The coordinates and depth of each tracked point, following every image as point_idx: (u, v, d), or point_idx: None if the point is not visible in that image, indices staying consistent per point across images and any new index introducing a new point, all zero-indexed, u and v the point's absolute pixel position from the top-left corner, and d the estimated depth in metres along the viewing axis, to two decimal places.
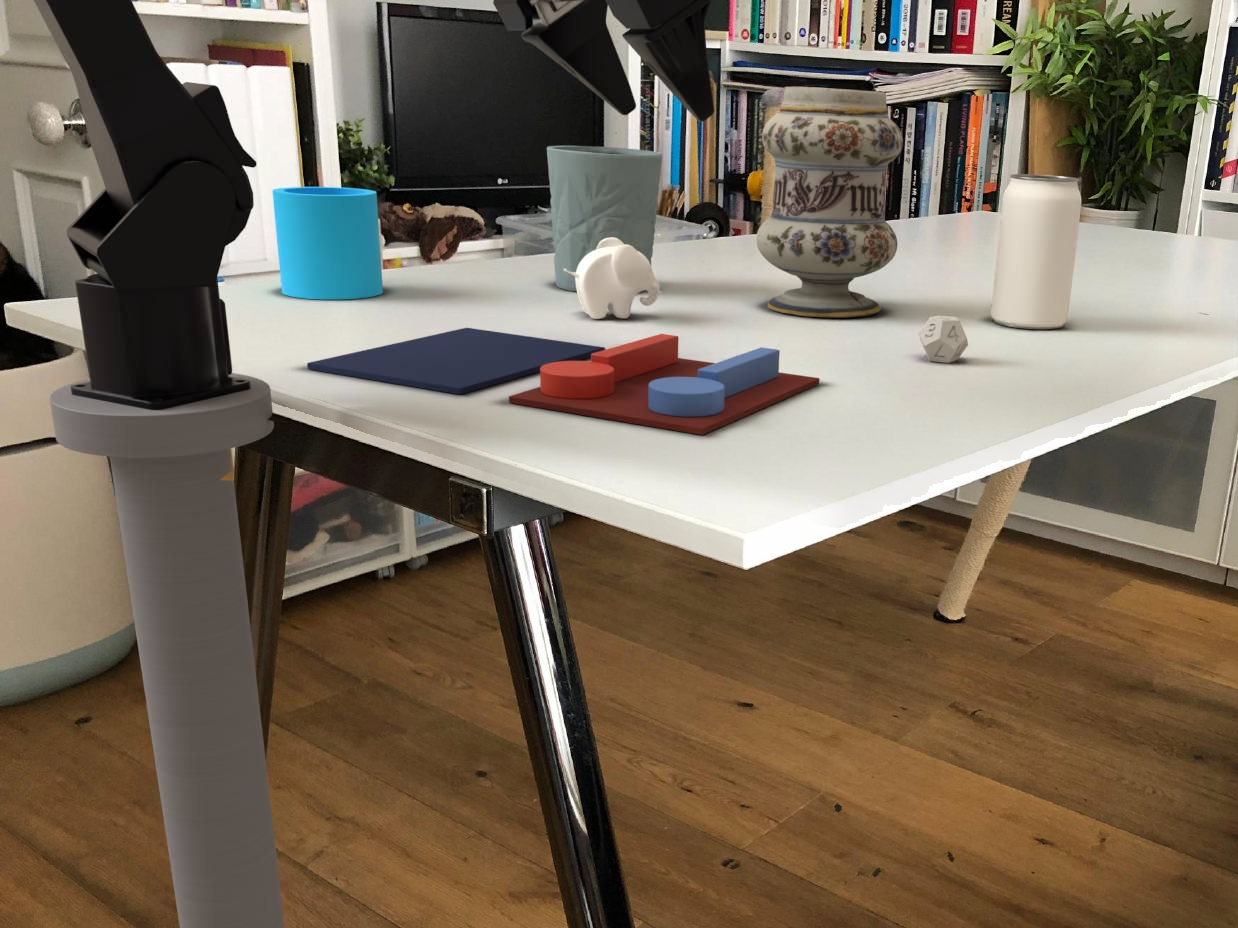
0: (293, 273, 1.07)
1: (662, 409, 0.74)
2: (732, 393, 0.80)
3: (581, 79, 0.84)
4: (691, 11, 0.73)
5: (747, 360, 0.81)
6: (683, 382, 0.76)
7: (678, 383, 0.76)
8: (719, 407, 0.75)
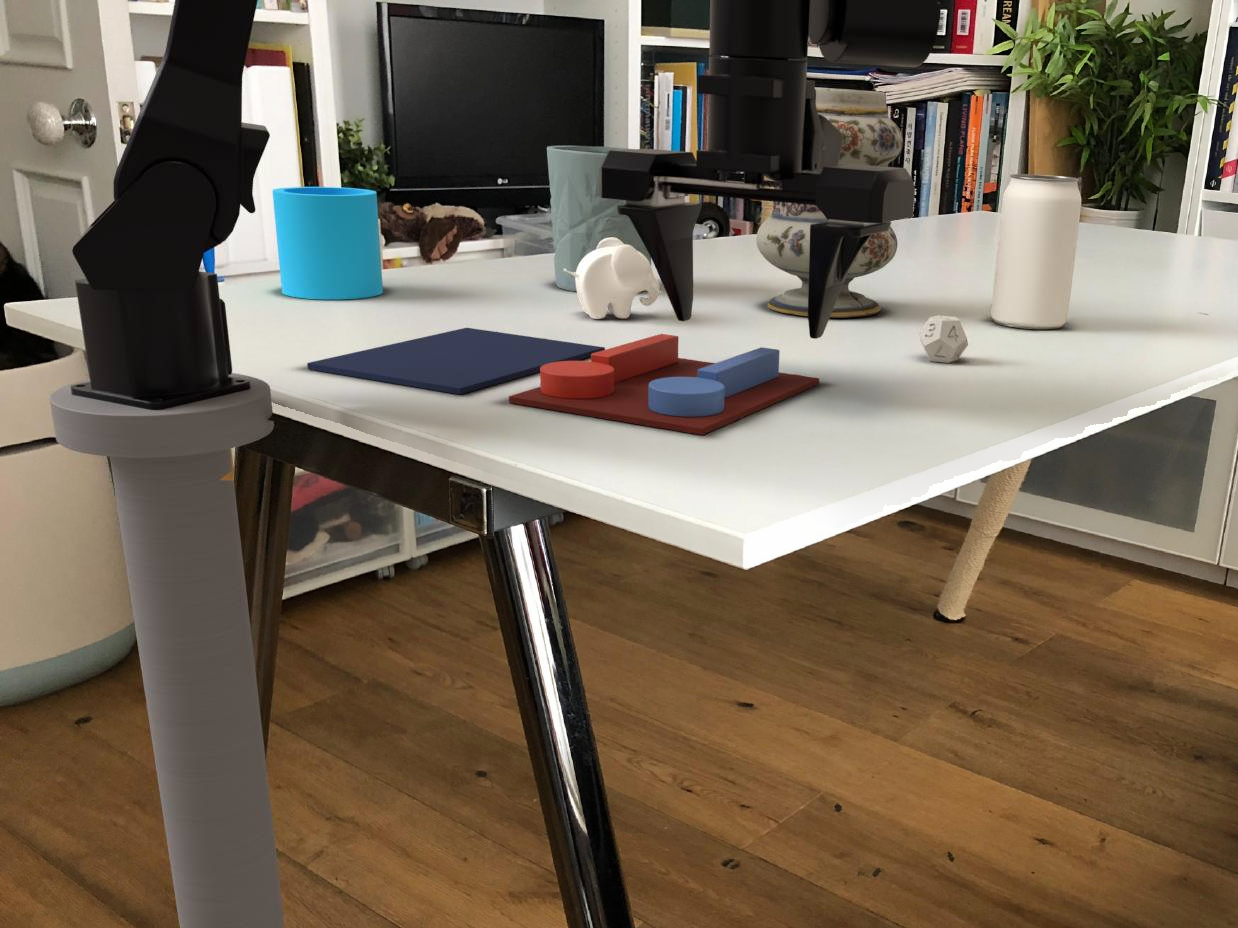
0: (293, 273, 1.07)
1: (662, 409, 0.74)
2: (732, 393, 0.80)
3: (662, 269, 0.81)
4: (876, 231, 0.76)
5: (747, 360, 0.81)
6: (683, 382, 0.76)
7: (678, 383, 0.76)
8: (719, 407, 0.75)
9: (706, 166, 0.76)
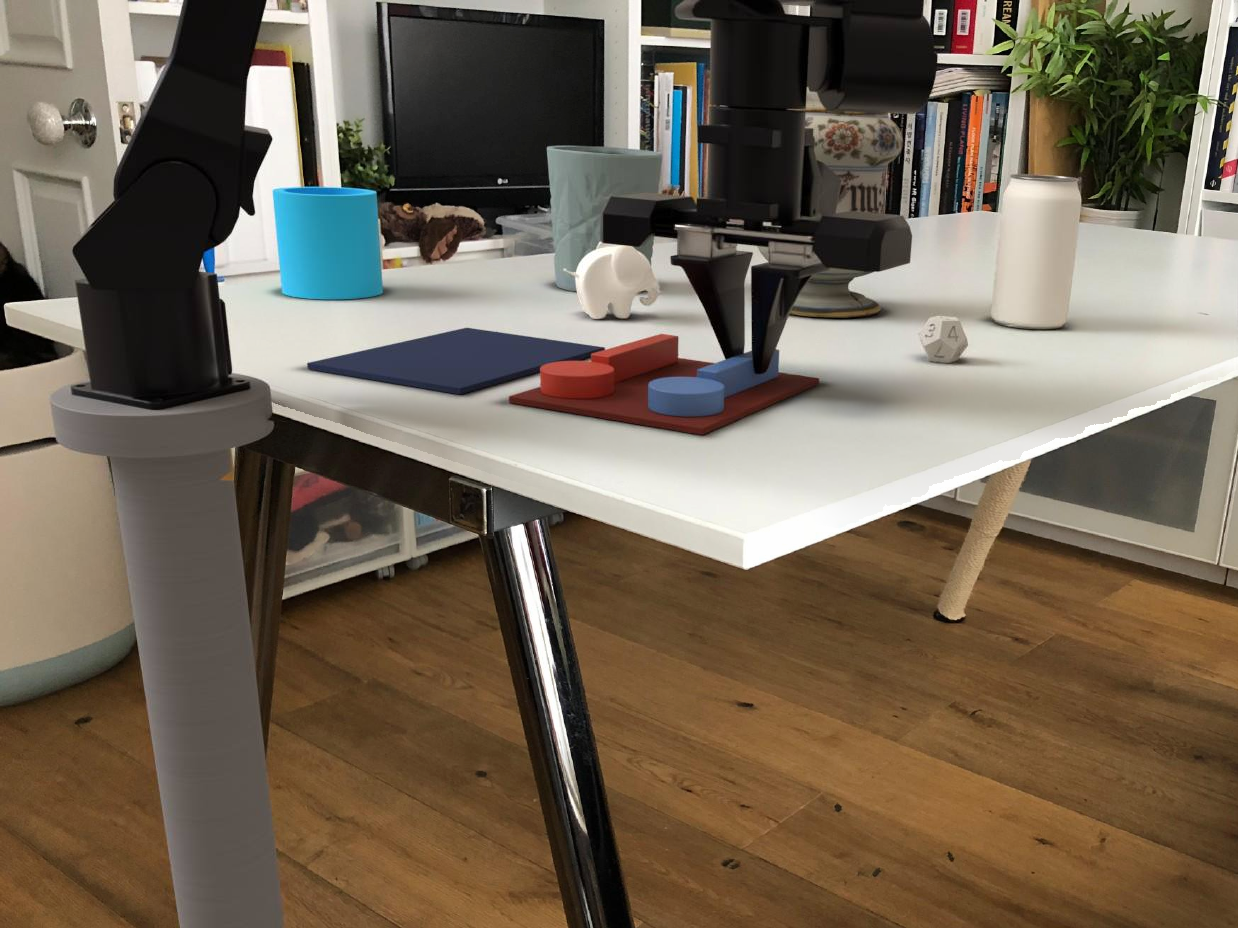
0: (293, 273, 1.07)
1: (662, 409, 0.74)
2: (732, 393, 0.80)
3: (715, 320, 0.81)
4: (816, 271, 0.79)
5: (747, 360, 0.81)
6: (683, 382, 0.76)
7: (678, 383, 0.76)
8: (719, 407, 0.75)
9: (706, 214, 0.77)
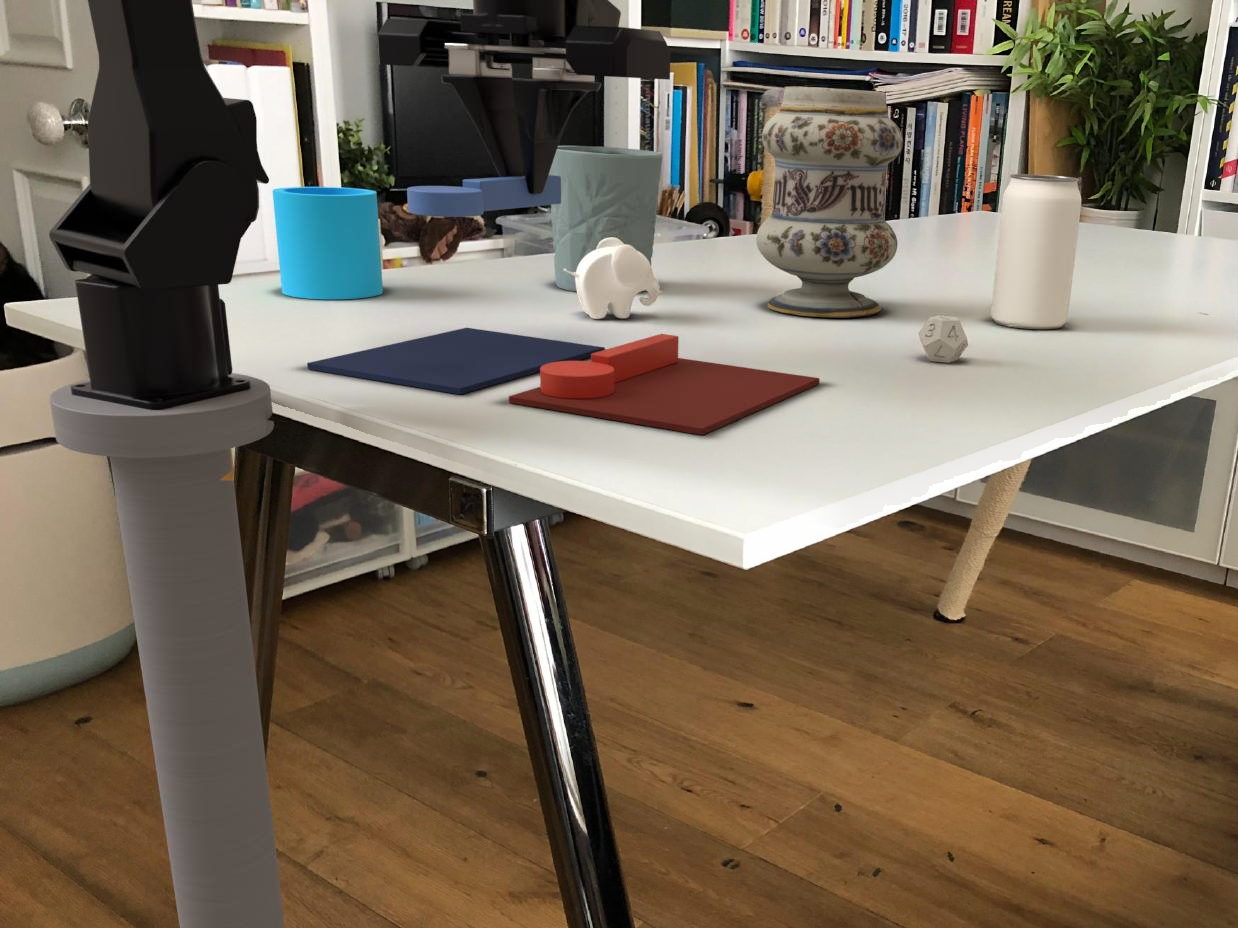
0: (293, 273, 1.07)
1: (417, 209, 0.77)
2: (501, 207, 0.82)
3: (487, 139, 0.83)
4: (579, 87, 0.81)
5: (519, 178, 0.84)
6: (443, 188, 0.79)
7: (437, 188, 0.79)
8: (474, 209, 0.78)
9: (469, 29, 0.80)
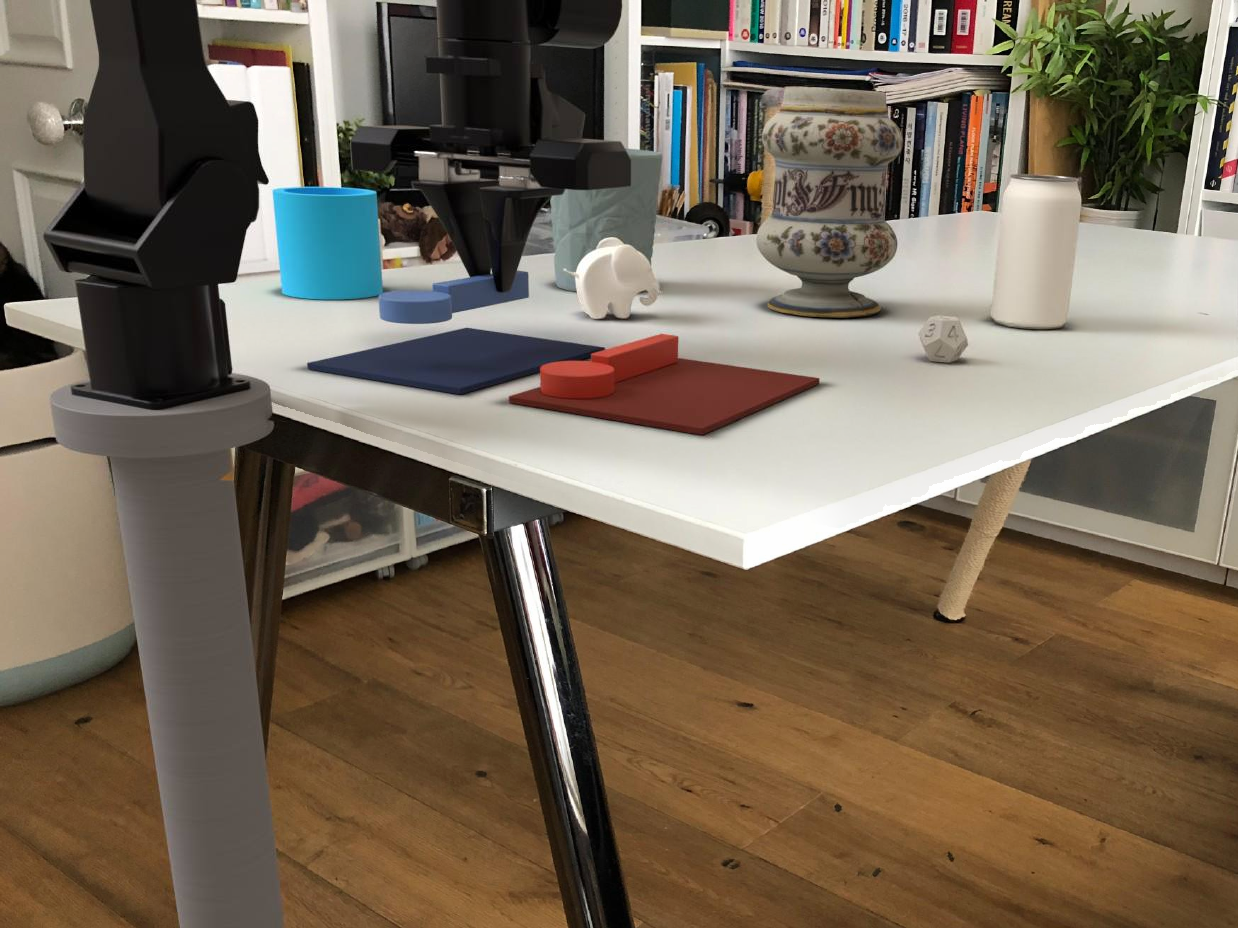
0: (293, 273, 1.07)
1: (388, 317, 0.81)
2: (470, 307, 0.86)
3: (456, 241, 0.87)
4: (544, 194, 0.85)
5: (487, 278, 0.87)
6: (413, 294, 0.82)
7: (407, 294, 0.82)
8: (443, 316, 0.81)
9: (438, 139, 0.84)
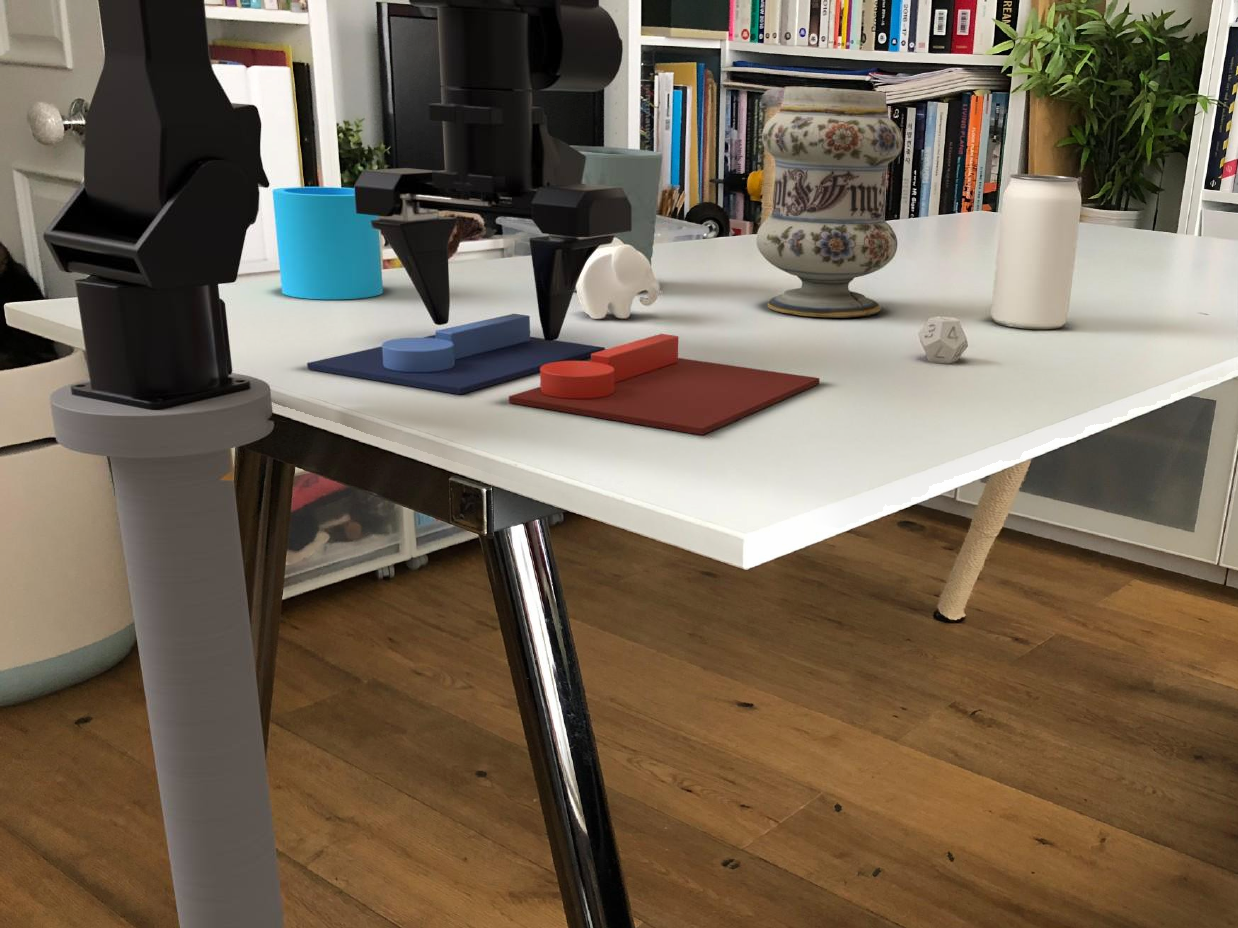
0: (293, 273, 1.07)
1: (391, 365, 0.82)
2: (472, 353, 0.87)
3: (415, 278, 0.89)
4: (594, 243, 0.85)
5: (489, 324, 0.88)
6: (416, 342, 0.83)
7: (411, 342, 0.83)
8: (446, 364, 0.83)
9: (441, 185, 0.85)
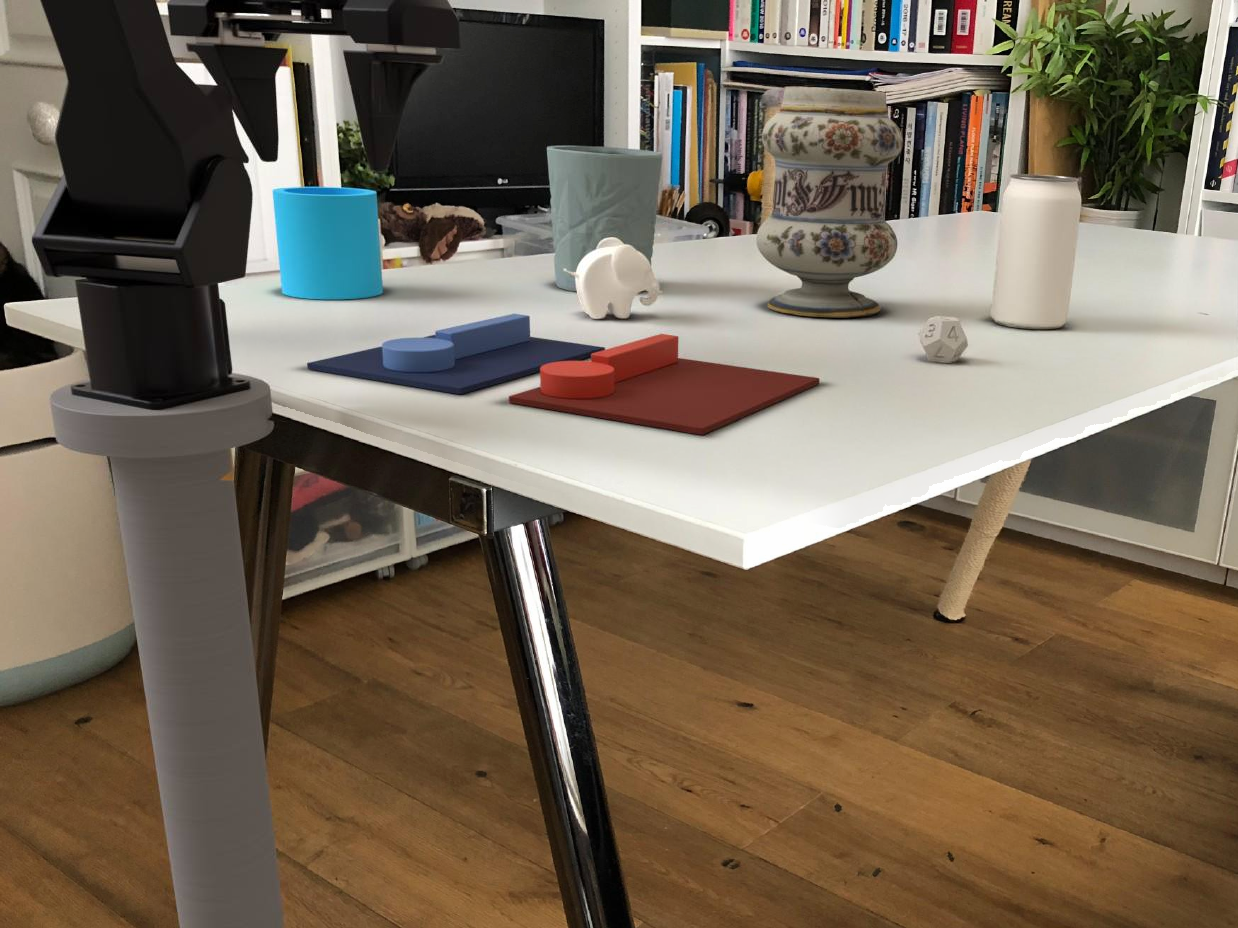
0: (293, 273, 1.07)
1: (391, 365, 0.82)
2: (472, 353, 0.87)
3: (236, 108, 0.83)
4: (417, 60, 0.78)
5: (489, 324, 0.88)
6: (416, 342, 0.83)
7: (411, 342, 0.83)
8: (446, 364, 0.83)
9: None
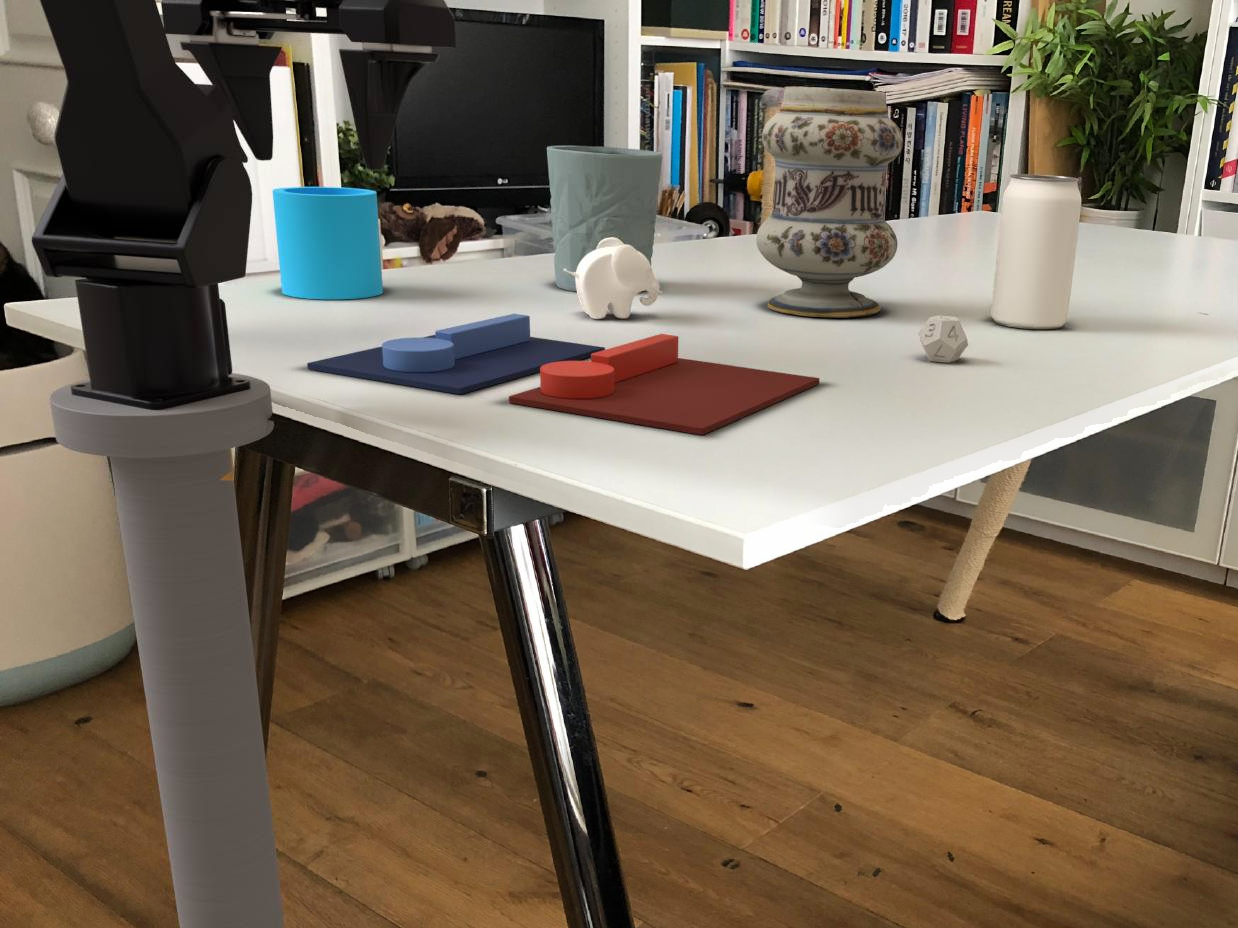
0: (293, 273, 1.07)
1: (391, 365, 0.82)
2: (472, 353, 0.87)
3: (231, 106, 0.83)
4: (413, 59, 0.78)
5: (489, 324, 0.88)
6: (416, 342, 0.83)
7: (411, 342, 0.83)
8: (446, 364, 0.83)
9: None
